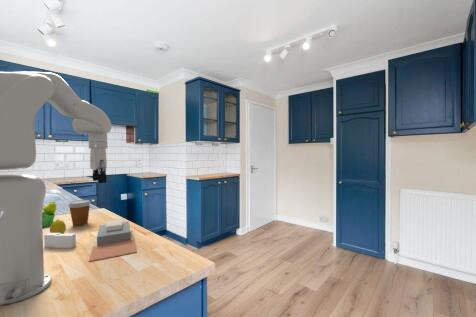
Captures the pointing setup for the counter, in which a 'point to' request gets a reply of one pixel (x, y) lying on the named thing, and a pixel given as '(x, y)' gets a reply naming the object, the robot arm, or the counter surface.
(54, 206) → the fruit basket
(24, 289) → the robot arm
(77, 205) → the disposable coffee cup
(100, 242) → the grey block
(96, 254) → the mat
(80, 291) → the counter surface
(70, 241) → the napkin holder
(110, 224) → the tile
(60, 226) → the lemon
